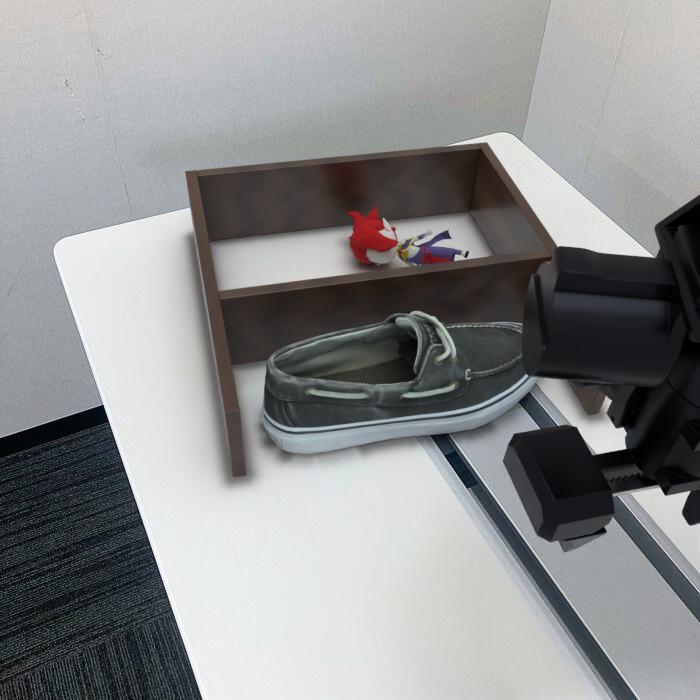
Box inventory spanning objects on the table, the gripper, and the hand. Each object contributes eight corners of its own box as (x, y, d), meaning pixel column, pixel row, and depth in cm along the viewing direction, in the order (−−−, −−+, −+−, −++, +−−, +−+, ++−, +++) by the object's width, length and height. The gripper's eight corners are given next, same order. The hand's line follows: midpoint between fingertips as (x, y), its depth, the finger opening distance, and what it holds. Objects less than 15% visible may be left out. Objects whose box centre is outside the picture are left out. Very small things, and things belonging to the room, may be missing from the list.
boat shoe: (564, 401, 74) (592, 327, 66) (287, 495, 65) (285, 421, 58) (508, 332, 80) (528, 257, 73) (250, 408, 72) (243, 332, 64)
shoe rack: (474, 204, 96) (487, 141, 89) (599, 413, 73) (627, 349, 66) (193, 236, 89) (185, 170, 83) (232, 477, 66) (224, 412, 60)
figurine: (454, 303, 82) (325, 270, 85) (469, 271, 88) (349, 241, 92) (465, 250, 78) (330, 217, 81) (480, 221, 85) (355, 191, 88)
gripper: (778, 257, 46) (685, 416, 57) (493, 296, 43) (454, 458, 54) (911, 393, 39) (775, 545, 50) (580, 455, 35) (513, 604, 46)
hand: (626, 532), depth 50 cm, fingers open, 9 cm apart
